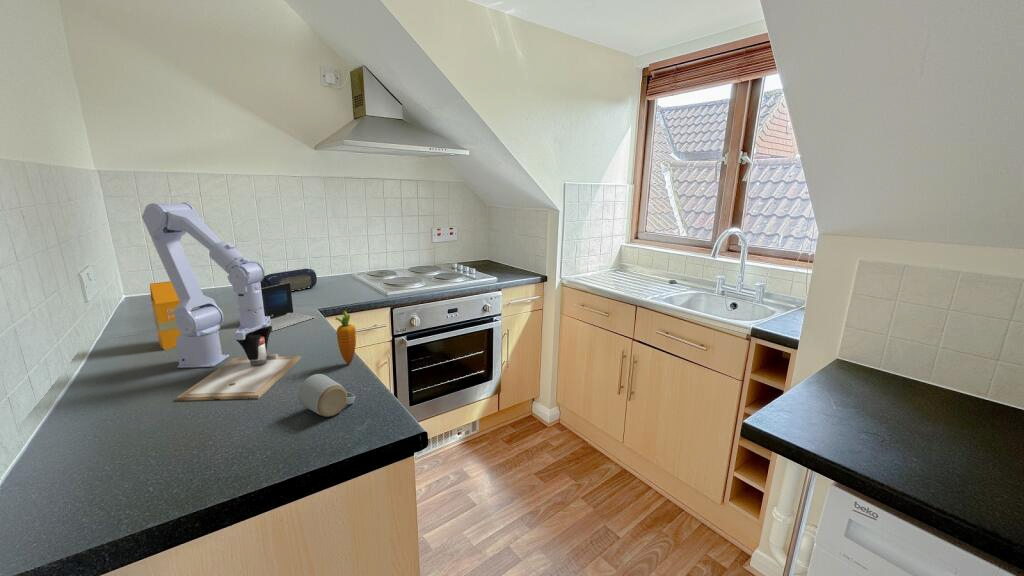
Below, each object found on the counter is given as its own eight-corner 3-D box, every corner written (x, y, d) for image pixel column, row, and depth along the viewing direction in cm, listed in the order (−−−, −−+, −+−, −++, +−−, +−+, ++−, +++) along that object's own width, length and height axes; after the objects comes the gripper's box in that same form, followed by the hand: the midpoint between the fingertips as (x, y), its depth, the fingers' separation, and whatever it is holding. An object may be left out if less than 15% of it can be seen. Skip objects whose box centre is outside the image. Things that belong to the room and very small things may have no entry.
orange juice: (198, 343, 134) (188, 281, 129) (163, 350, 127) (151, 285, 123) (193, 337, 139) (183, 277, 134) (158, 344, 133) (147, 281, 128)
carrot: (352, 368, 115) (347, 315, 112) (335, 367, 116) (330, 314, 113) (361, 361, 120) (357, 310, 117) (346, 360, 121) (341, 309, 118)
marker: (247, 366, 114) (243, 341, 112) (254, 360, 118) (251, 336, 116) (262, 365, 114) (259, 341, 112) (270, 359, 118) (267, 335, 116)
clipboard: (177, 400, 97) (175, 393, 97) (235, 360, 120) (234, 354, 120) (258, 398, 98) (257, 391, 98) (300, 358, 122) (300, 352, 121)
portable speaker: (270, 298, 190) (267, 276, 188) (259, 295, 195) (256, 274, 193) (321, 288, 210) (319, 268, 208) (310, 285, 216) (308, 266, 213)
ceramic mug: (320, 424, 88) (317, 390, 86) (298, 412, 92) (295, 379, 91) (363, 404, 96) (361, 373, 95) (342, 394, 101) (340, 364, 99)
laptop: (273, 332, 145) (268, 295, 142) (249, 327, 150) (243, 291, 147) (316, 318, 161) (312, 285, 158) (293, 314, 166) (289, 282, 163)
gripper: (252, 315, 106) (259, 366, 109) (279, 301, 120) (284, 346, 123) (223, 316, 105) (230, 367, 108) (253, 301, 119) (259, 346, 122)
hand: (257, 356), depth 115 cm, fingers closed on marker, 4 cm apart
